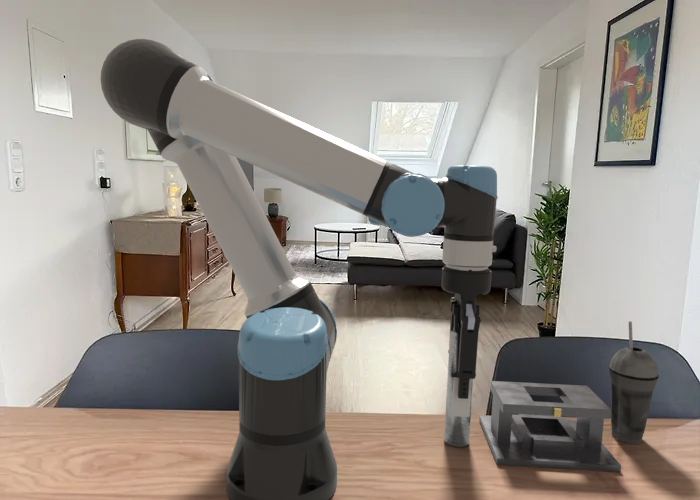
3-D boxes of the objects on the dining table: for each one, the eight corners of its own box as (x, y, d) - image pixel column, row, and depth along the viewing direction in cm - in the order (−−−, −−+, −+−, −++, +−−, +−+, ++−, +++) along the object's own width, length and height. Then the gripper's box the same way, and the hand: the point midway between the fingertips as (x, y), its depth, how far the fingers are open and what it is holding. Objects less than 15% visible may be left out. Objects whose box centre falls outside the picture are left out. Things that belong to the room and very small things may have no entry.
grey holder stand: (496, 464, 74) (500, 410, 73) (479, 420, 88) (482, 375, 87) (620, 472, 73) (626, 417, 71) (583, 426, 86) (587, 380, 85)
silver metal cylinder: (445, 445, 78) (451, 336, 76) (442, 433, 82) (448, 329, 80) (472, 447, 78) (479, 338, 76) (468, 435, 82) (474, 330, 80)
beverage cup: (659, 451, 79) (672, 330, 76) (610, 445, 80) (621, 326, 78) (641, 429, 86) (653, 318, 83) (597, 424, 87) (607, 315, 85)
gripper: (504, 277, 68) (493, 436, 71) (480, 259, 84) (472, 388, 87) (449, 274, 68) (440, 433, 71) (437, 257, 85) (430, 386, 88)
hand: (458, 408), depth 79 cm, fingers closed on silver metal cylinder, 4 cm apart
